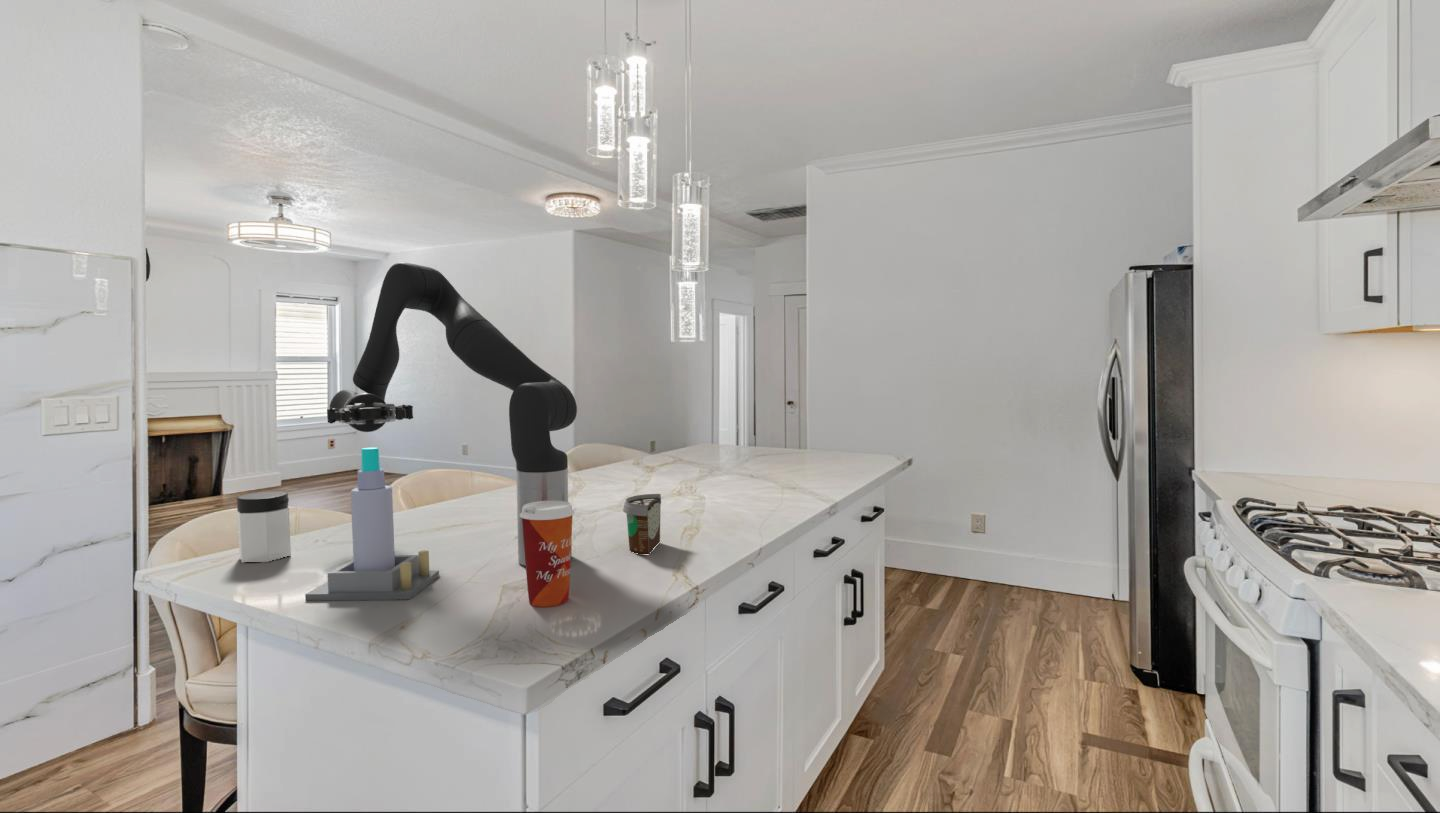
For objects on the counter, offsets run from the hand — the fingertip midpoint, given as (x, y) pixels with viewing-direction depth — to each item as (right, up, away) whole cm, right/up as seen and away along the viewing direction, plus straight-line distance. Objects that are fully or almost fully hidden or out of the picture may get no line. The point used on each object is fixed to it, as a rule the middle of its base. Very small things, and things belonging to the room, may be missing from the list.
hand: (374, 414), depth 124 cm
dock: (+5, -28, -10) cm, 31 cm away
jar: (-25, -28, +8) cm, 38 cm away
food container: (+46, -27, +13) cm, 55 cm away
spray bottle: (+5, -27, -10) cm, 30 cm away
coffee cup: (+35, -29, -17) cm, 49 cm away
